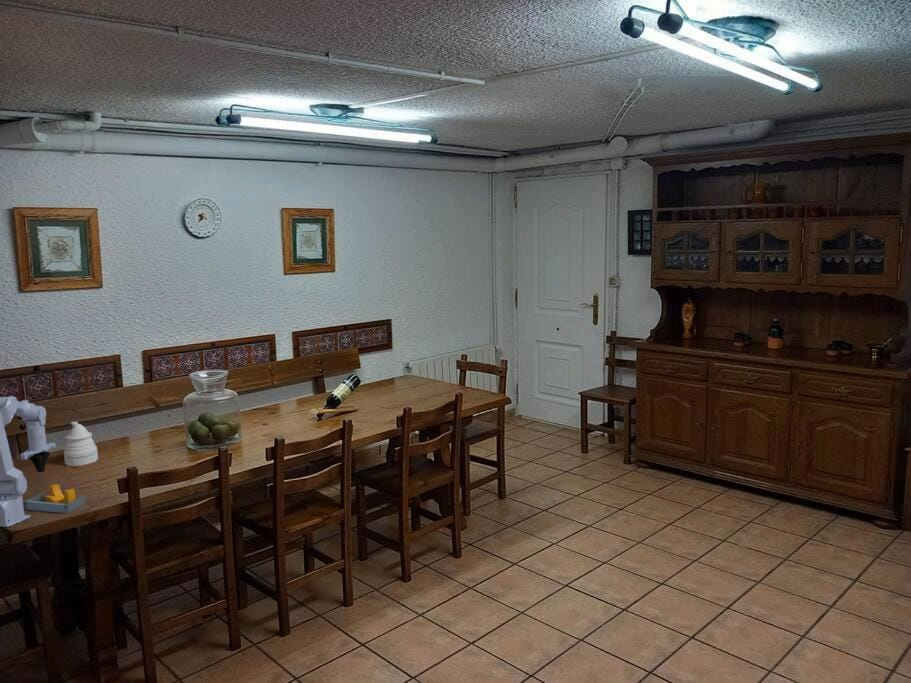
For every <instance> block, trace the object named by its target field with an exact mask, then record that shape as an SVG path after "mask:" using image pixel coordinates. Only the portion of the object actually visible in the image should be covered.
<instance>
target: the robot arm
mask: <svg viewBox="0 0 911 683" xmlns="http://www.w3.org/2000/svg"><path fill="white" fill-rule="evenodd" d="M14 416H17V417H19V418H21V419H22V421H23V422H25V424H26V433H27V441H28V449H27V450H26V451H24V452H22V453H21V454H19V456H20V460H27V459H29V460H30V461H31V463H32V464H33V466H34V468H35V469H36V472H37V473H44V472H45V471H46V470H45V469H46V464H47V461H48V458H49V456H50V455H51V454H50V451H49V450H51V449H55V448H56V447H57V445H56V443H55V442H49V443H47V436H46V428H45V427H46V426H45V425H46V422H47V420H46V417H47V411H46V408H45V407H44V406H42V405H36V404H34V403H32V402H29V400H28V399H23V400H21V401H19V400H17V397H16V396H13V395H11V396H10V395H9V396H0V528H1V527H2V528H3V527H4V528H10V527H9V526H11V527H13V526H15V525H17V524H19V523H22V522H23V521H25V520H27V519H29V518H31V517H32V515H31V514H25V509H24V504H23V501H24V500H23V495H24V494H25V493H26V491H27V489H28V481H27V479H26V477H25V476H24V473H23V471H21V470H19V469H18V468H16V467H15V466H14V462H13V459H12V454H11V450H10V446H9V441H8V437H7V433H6V430H5V426H6V425H8V424H10V423H12V422H11V421H13V420H12V419H13V417H14ZM16 523H17V524H16ZM14 524H15V525H14ZM12 525H13V526H12ZM6 526H7V527H6Z"/></svg>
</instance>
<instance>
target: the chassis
mask: <svg viewBox="0 0 911 683" xmlns="http://www.w3.org/2000/svg"><path fill="white" fill-rule="evenodd" d="M46 494H47V493H46V492H41V493H39V494H37V495H35V496H31V497H30V498H28V499H26V500H23V507H24V511H27V510H28V511H39V512H49V513H60V514H62V513H63V514H69V513H70V512H73V511H74V510H77V509H78V508H80V507H82V506H84V505H86V495H81V496H79V497H77V498H76V499H75V500H73V501H71V502H69V503H67V504H62V503H51V502H46V496H47V495H46Z"/></svg>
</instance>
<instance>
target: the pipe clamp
mask: <svg viewBox="0 0 911 683" xmlns="http://www.w3.org/2000/svg"><path fill="white" fill-rule="evenodd" d="M49 493H50V494H47V495H46V501H45V502H51V503H62V504H67V503H69V502H71V501H73V500H75V499H77V498H76V492H75V489H74V488H70V489H68V490H64V494H63V493H62V490H61V487H60V484H57V483H55V484H53V485H52V484H51V485H49Z"/></svg>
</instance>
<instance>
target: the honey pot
mask: <svg viewBox="0 0 911 683" xmlns="http://www.w3.org/2000/svg"><path fill="white" fill-rule="evenodd" d="M70 424H71V426H72V428H71V430H70V432H69V434H68V435H66V437H65V438H66V440H67V442H66V443H65V448H64V450H63V458H64V464H65V466H69V467H80V466H85V464H86V465H90V464H92V462H93V463H95V462H97V461H98V460H99V454H98V447H97V445H96V442H94V439H93V437H92V436H93V433H92V432H89V431H88V430H87V428H86V427H85V426H84V425H82V424H81V423H79V422H78V421H72V422H70ZM96 460H97V461H96ZM89 463H90V464H89ZM79 465H80V466H79Z"/></svg>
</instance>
